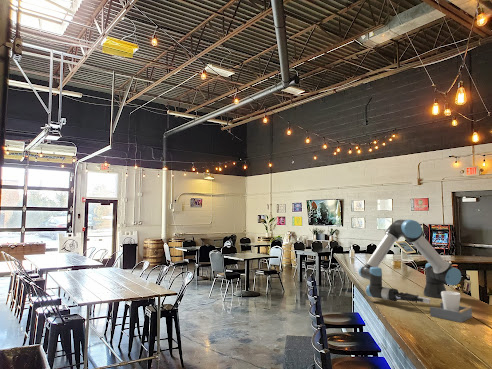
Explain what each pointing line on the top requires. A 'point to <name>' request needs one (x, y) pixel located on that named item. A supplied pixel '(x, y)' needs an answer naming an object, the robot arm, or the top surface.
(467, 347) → the top surface
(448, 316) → the box
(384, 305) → the top surface
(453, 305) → the foam cup
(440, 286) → the robot arm
